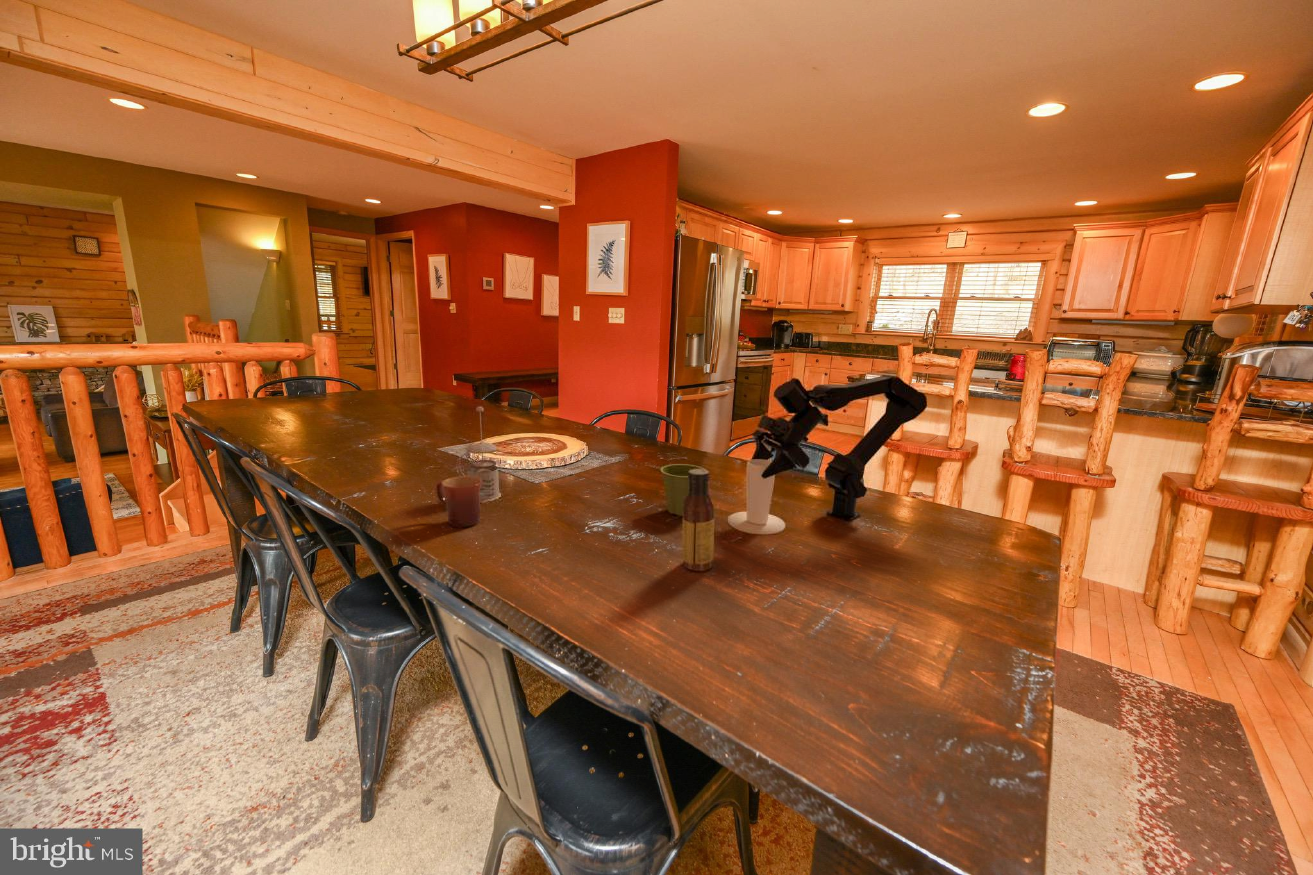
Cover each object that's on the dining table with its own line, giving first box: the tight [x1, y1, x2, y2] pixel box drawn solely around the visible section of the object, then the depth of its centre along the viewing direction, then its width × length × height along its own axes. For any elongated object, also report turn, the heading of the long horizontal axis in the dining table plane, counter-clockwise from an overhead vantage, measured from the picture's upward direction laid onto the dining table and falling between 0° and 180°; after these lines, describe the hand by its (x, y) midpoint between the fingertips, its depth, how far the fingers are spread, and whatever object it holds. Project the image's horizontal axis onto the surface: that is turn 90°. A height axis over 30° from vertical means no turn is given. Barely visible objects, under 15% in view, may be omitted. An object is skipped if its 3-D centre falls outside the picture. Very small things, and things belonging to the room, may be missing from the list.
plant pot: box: [660, 463, 706, 517], centre depth 128 cm, size 12×12×11 cm
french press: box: [455, 406, 502, 502], centre depth 132 cm, size 10×12×25 cm
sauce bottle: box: [681, 468, 715, 572], centre depth 98 cm, size 7×6×20 cm
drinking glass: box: [745, 459, 776, 524], centre depth 122 cm, size 7×7×15 cm
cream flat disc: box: [727, 510, 786, 536], centre depth 124 cm, size 14×14×1 cm
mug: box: [435, 475, 483, 529], centre depth 117 cm, size 12×9×10 cm
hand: (755, 473), depth 120 cm, fingers closed on drinking glass, 7 cm apart
